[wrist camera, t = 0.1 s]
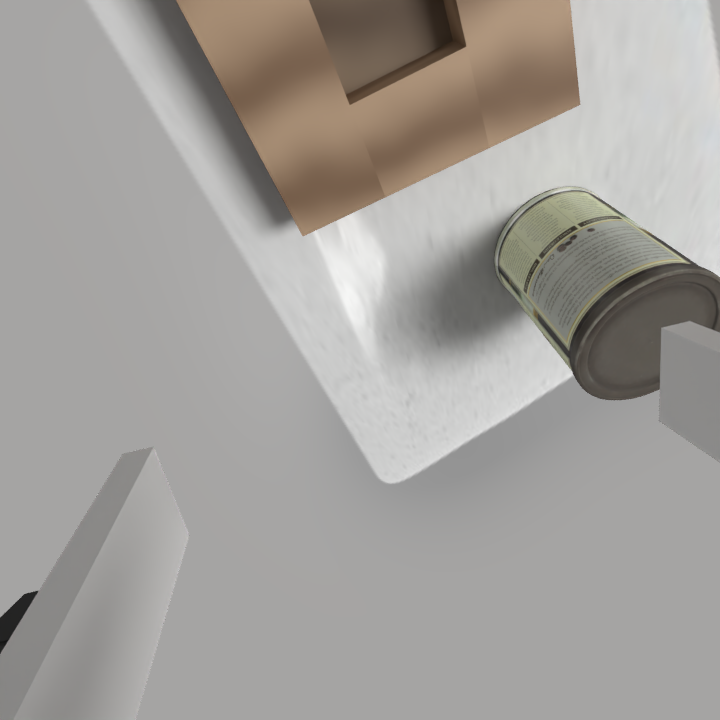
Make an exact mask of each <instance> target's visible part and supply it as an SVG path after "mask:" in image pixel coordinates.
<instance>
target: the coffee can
mask: <svg viewBox="0 0 720 720" xmlns="http://www.w3.org/2000/svg"><path fill="white" fill-rule="evenodd" d="M494 262H495V270H496V274H497V276H498V278H499V280H500V282H501V283H502V284H503V285H504V287H505V288H506V289H508V290H509V292H510V293H511V294H512V295H513V297H514V298H515V299H516V301H517V302H518V303H519V304H520V306H521V307H522V308H523V310H524V311H525V312H526V313H527V314H528V316H529V317H530V318H531V319H532V321H533V322H534V323H535V325H536V326H537V327H538V328H539V330H540V331H541V332H542V333H543V335H544V336H545V338H546V339H547V340H548V341H549V343H550V344H551V345H552V347H553V348H554V349H555V350H556V351H557V353H558V354H559V355H560V356H561V358H562V359H563V360H564V362H565V363H566V364H567V365H568V367H569V368H570V369H571V370H572V372H573V374H574V376H575V378H576V380H577V382H578V383H579V384H580V386H581V387H582V388H583V389H584V390H585V391H586V392H587V393H589V394H591V395H592V396H595V397H598V398H600V399H606V400H626V399H632V398H637V397H641V396H643V395H647V394H649V393H652V392H654V391H656V390H659V389H660V361H661V328H662V327H667V326H671V325H675V324H679V323H684V322H688V321H691V322H693V323H696V324H699V325H701V326H704V327H707V328H709V329H712V330H714V331H717V332H720V277H719V276H717V275H716V274H714V273H713V272H711V271H709V270H707V269H705V268H702V267H700V266H698V265H697V264H696V263H694V262H692V261H691V260H690V259H688V258H687V257H685V256H684V255H682V254H681V253H679V252H678V251H676V250H675V249H673V248H672V247H671V246H669V245H668V244H666V243H665V242H663V241H662V240H660V239H659V238H657V237H655V236H654V235H652V234H651V233H650V232H648V231H647V230H645V229H644V228H642V227H641V226H639V225H638V224H636V223H635V222H633V221H632V220H630V219H629V218H628V217H626V216H625V215H623V214H622V213H621V212H619V211H617V210H616V209H615V208H613V207H612V206H610V205H609V204H607V203H606V202H604V201H603V200H601V199H600V198H599V197H598V196H597V195H596V194H594V193H593V192H591V191H589V190H586V189H584V188H580V187H562V188H557V189H553V190H550V191H547V192H545V193H542V194H540V195H538V196H536V197H534V198H533V199H531V200H530V201H529V202H528V203H526V204H525V205H524V206H522V207H521V208H520V209H519V210H518V211H517V212H516V213H515V214H514V215H513V216H512V218H511V219H510V220H509V221H508V223H507V224H506V226H505V227H504V229H503V231H502V233H501V235H500V237H499V239H498V243H497V246H496V250H495V258H494Z"/></svg>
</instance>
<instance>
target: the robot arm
mask: <svg viewBox="0 0 720 720" xmlns="http://www.w3.org/2000/svg"><path fill="white" fill-rule="evenodd" d="M659 404H660V405H659V421H660V422H662V423H663V424H664V425H666V426H667V427H669V428H670V429H671V430H673V431H674V432H676V433H677V434H679V435H680V436H682V437H683V438H685V439H686V440H688V441H689V442H690V443H692V444H693V445H695V446H696V447H698V448H699V449H701V450H702V451H704V452H705V453H707V454H708V455H709V456H711V457H712V458H714V459H715V460H717V461H718V462H720V332H717V331H714V330H712V329H709V328H707V327H704V326H701V325H699V324H696V323H693V322H691V321H688V322H684V323H679V324H675V325H671V326H667V327H662V328H661V361H660V403H659ZM188 538H189V533H188V530H187V528H186V526H185V523H184V521H183V518H182V516H181V513H180V511H179V508H178V506H177V503H176V501H175V498H174V496H173V493H172V491H171V488H170V486H169V484H168V481H167V479H166V476H165V474H164V471H163V469H162V466H161V464H160V461H159V459H158V456H157V454H156V451H155V449H154V447H150V448H146V449H142V450H137V451H133V452H129V453H124V454H122V456H121V457H120V459H119V461H118V462H117V464H116V466H115V467H114V469H113V471H112V472H111V474H110V475H109V477H108V479H107V480H106V482H105V483H104V485H103V487H102V489H101V490H100V492H99V493H98V495H97V497H96V498H95V500H94V502H93V503H92V505H91V506H90V508H89V510H88V511H87V513H86V515H85V516H84V518H83V519H82V521H81V523H80V525H79V526H78V528H77V529H76V531H75V533H74V534H73V536H72V538H71V539H70V541H69V542H68V544H67V546H66V547H65V549H64V551H63V552H62V554H61V556H60V557H59V559H58V560H57V562H56V564H55V565H54V567H53V569H52V570H51V572H50V574H49V575H48V577H47V578H46V580H45V582H44V583H43V585H42V587H41V588H40V590H39V591H35V592H31V593H27V594H24V595H23V596H22V597H21V598H20V599H19V600H18V601H17V602H16V603H15V604H14V605H13V606H12V607H11V608H10V609H9V610H8V611H7V612H6V613H5V614H4V615H3V616H2V617H0V720H136V717H137V713H138V709H139V706H140V703H141V699H142V696H143V692H144V689H145V685H146V682H147V679H148V675H149V672H150V668H151V665H152V662H153V658H154V655H155V651H156V648H157V644H158V641H159V637H160V634H161V630H162V627H163V624H164V620H165V617H166V613H167V610H168V607H169V603H170V600H171V596H172V593H173V589H174V586H175V582H176V579H177V575H178V572H179V568H180V565H181V562H182V558H183V555H184V551H185V548H186V545H187V541H188Z"/></svg>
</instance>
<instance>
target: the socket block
mask: <svg viewBox="0 0 720 720" xmlns="http://www.w3.org/2000/svg"><path fill="white" fill-rule="evenodd" d="M176 1H177V3H178V5H179V7H180V9H181V11H182V13H183V14H184V16H185V18H186V20H187V22H188V24H189V26H190V27H191V29H192V31H193V33H194V35H195V37H196V39H197V40H198V42H199V44H200V46H201V48H202V50H203V52H204V53H205V55H206V57H207V59H208V61H209V63H210V65H211V66H212V68H213V70H214V72H215V74H216V76H217V78H218V79H219V81H220V83H221V85H222V87H223V89H224V91H225V93H226V94H227V96H228V98H229V100H230V102H231V104H232V106H233V107H234V109H235V111H236V113H237V115H238V117H239V119H240V120H241V122H242V124H243V126H244V128H245V130H246V132H247V133H248V135H249V137H250V139H251V141H252V143H253V145H254V146H255V148H256V150H257V152H258V154H259V156H260V158H261V160H262V161H263V163H264V165H265V167H266V169H267V171H268V173H269V174H270V176H271V178H272V180H273V182H274V184H275V186H276V187H277V189H278V191H279V193H280V195H281V197H282V199H283V200H284V202H285V204H286V206H287V208H288V210H289V212H290V213H291V215H292V217H293V219H294V221H295V223H296V225H297V227H298V228H299V230H300V232H301V234H302V236H305V235H307V234H309V233H311V232H313V231H315V230H317V229H319V228H322V227H324V226H326V225H328V224H330V223H332V222H334V221H336V220H338V219H341V218H343V217H345V216H347V215H349V214H351V213H353V212H355V211H357V210H359V209H362V208H364V207H366V206H368V205H370V204H372V203H374V202H376V201H378V200H381V199H383V198H385V197H387V196H389V195H391V194H393V193H395V192H397V191H399V190H402V189H404V188H406V187H408V186H410V185H412V184H414V183H416V182H418V181H421V180H423V179H425V178H427V177H429V176H431V175H433V174H435V173H437V172H439V171H442V170H444V169H446V168H448V167H450V166H452V165H454V164H456V163H458V162H461V161H463V160H465V159H467V158H469V157H471V156H473V155H475V154H477V153H479V152H482V151H484V150H486V149H488V148H490V147H492V146H494V145H496V144H498V143H501V142H503V141H505V140H507V139H509V138H511V137H513V136H515V135H517V134H520V133H522V132H524V131H526V130H528V129H530V128H532V127H534V126H536V125H538V124H541V123H543V122H545V121H547V120H549V119H551V118H553V117H555V116H557V115H560V114H562V113H564V112H566V111H568V110H570V109H572V108H574V107H576V106H578V105H580V98H579V88H578V78H577V68H576V58H575V48H574V37H573V27H572V17H571V7H570V0H176Z"/></svg>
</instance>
